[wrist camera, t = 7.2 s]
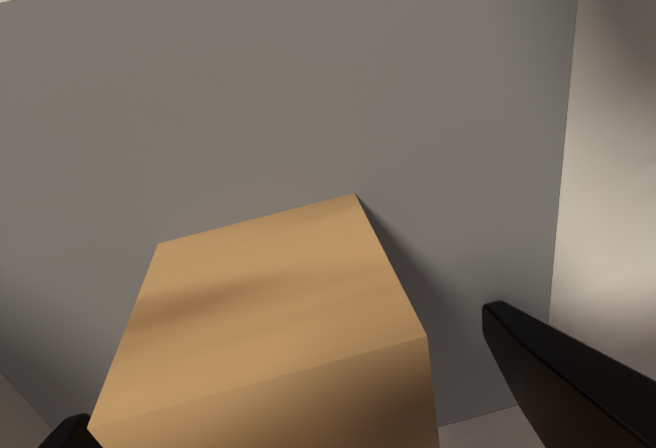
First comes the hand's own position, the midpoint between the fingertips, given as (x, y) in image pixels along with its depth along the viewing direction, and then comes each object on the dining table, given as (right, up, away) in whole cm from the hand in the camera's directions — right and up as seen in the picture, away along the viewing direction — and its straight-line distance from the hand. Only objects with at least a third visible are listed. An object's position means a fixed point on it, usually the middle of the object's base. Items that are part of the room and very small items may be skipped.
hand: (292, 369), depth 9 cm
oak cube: (0, +1, +2) cm, 3 cm away
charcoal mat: (0, +2, +3) cm, 4 cm away
